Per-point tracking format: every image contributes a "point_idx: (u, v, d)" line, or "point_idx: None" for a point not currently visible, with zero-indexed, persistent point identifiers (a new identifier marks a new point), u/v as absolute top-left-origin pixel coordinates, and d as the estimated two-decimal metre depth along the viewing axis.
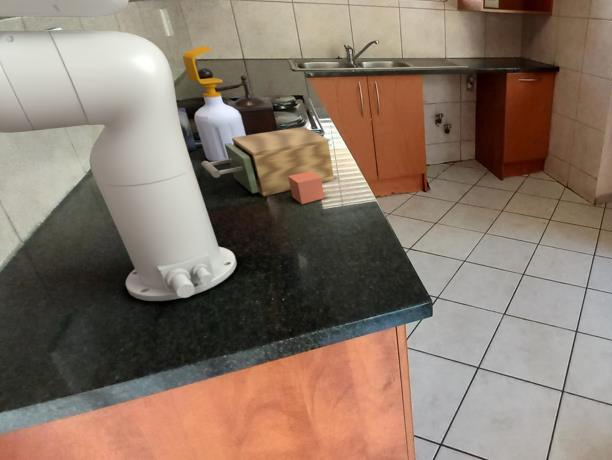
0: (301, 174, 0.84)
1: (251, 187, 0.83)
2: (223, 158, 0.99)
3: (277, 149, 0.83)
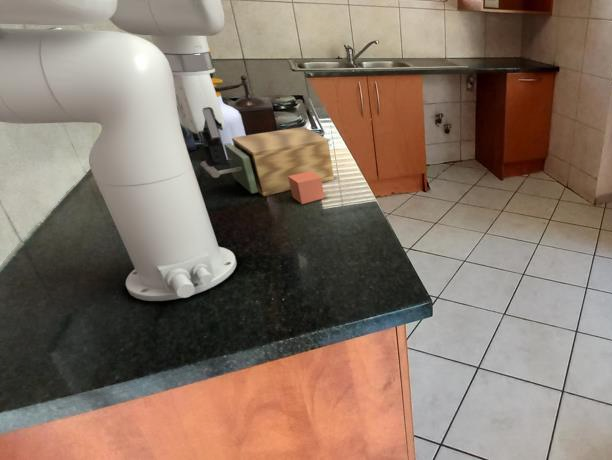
0: (301, 174, 0.84)
1: (250, 187, 0.83)
2: None
3: (277, 149, 0.83)
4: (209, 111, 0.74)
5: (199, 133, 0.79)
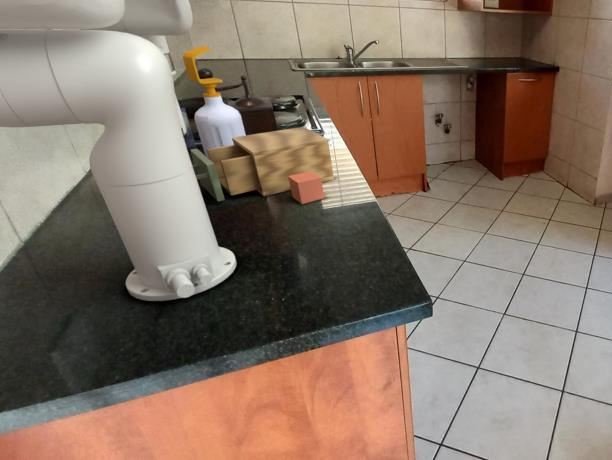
0: (301, 174, 0.84)
1: (216, 195, 0.79)
2: None
3: (277, 149, 0.83)
4: None
5: None
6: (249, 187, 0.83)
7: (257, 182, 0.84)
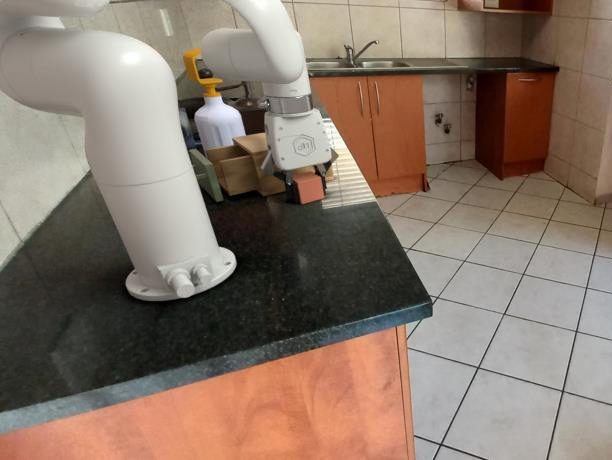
0: (301, 174, 0.84)
1: (215, 195, 0.79)
2: None
3: None
4: None
5: (292, 174, 0.80)
6: (248, 187, 0.83)
7: (256, 182, 0.84)
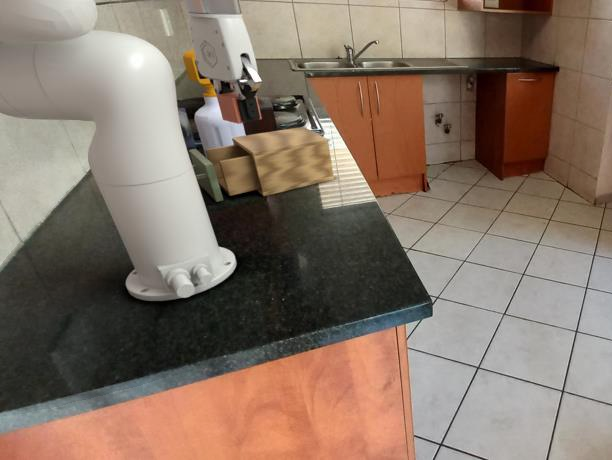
0: None
1: (215, 195, 0.79)
2: None
3: (277, 149, 0.83)
4: (244, 56, 0.71)
5: (218, 85, 0.75)
6: (248, 187, 0.83)
7: (256, 182, 0.84)
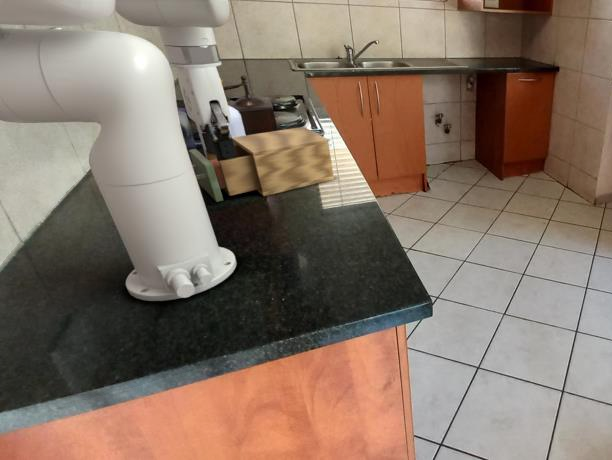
0: None
1: (215, 195, 0.79)
2: None
3: (277, 149, 0.83)
4: (215, 101, 0.74)
5: None
6: (248, 187, 0.83)
7: (256, 182, 0.84)
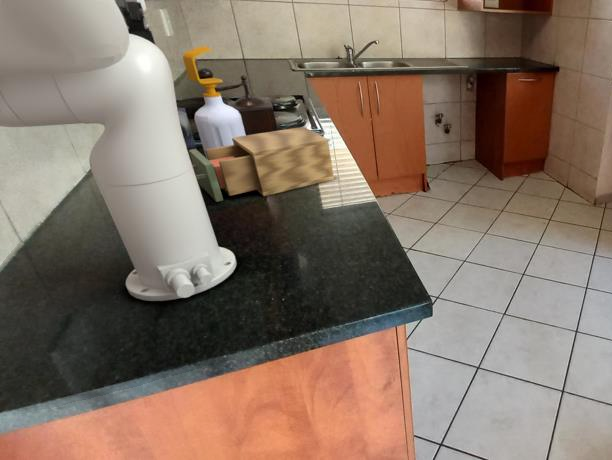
0: None
1: (215, 195, 0.79)
2: None
3: (277, 149, 0.83)
4: None
5: None
6: (248, 187, 0.83)
7: (256, 182, 0.84)
